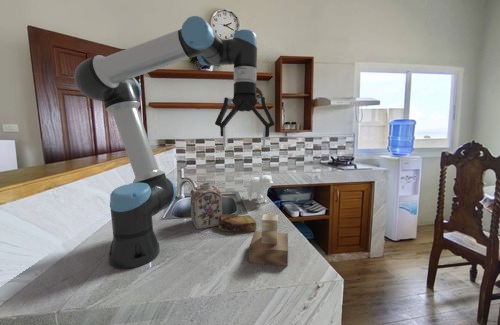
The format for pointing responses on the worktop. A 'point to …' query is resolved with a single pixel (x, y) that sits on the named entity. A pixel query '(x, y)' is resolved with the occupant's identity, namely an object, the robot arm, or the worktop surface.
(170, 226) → the worktop surface
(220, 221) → the stone
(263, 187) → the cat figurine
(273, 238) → the oak block
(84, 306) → the worktop surface
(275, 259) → the plinth
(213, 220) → the decorative jar
